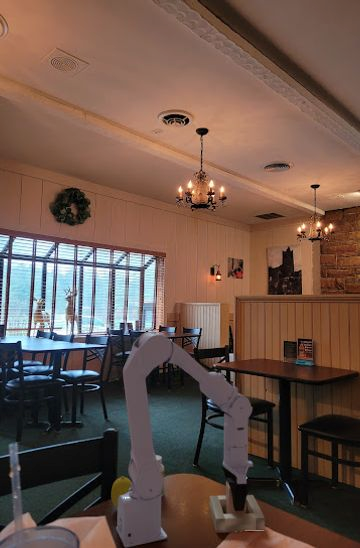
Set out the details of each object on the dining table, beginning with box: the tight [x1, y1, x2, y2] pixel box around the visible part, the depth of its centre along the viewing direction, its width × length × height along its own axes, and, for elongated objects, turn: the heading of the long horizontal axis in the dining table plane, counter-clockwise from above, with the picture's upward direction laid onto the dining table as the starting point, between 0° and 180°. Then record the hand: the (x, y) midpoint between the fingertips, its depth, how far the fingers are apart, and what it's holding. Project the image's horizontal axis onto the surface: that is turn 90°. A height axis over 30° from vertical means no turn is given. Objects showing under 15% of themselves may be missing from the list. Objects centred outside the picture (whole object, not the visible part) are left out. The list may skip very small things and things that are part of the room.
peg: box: [225, 480, 247, 514], centre depth 98 cm, size 4×4×8 cm
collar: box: [209, 494, 266, 534], centre depth 98 cm, size 11×11×3 cm
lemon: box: [110, 475, 133, 509], centre depth 102 cm, size 6×6×8 cm
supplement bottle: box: [155, 454, 165, 498], centre depth 110 cm, size 5×5×10 cm
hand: (235, 502), depth 98 cm, fingers open, 7 cm apart
